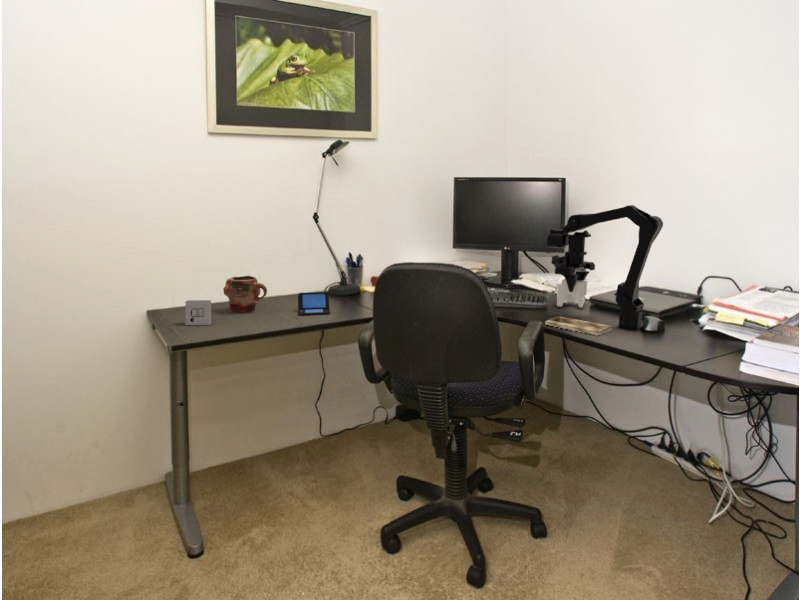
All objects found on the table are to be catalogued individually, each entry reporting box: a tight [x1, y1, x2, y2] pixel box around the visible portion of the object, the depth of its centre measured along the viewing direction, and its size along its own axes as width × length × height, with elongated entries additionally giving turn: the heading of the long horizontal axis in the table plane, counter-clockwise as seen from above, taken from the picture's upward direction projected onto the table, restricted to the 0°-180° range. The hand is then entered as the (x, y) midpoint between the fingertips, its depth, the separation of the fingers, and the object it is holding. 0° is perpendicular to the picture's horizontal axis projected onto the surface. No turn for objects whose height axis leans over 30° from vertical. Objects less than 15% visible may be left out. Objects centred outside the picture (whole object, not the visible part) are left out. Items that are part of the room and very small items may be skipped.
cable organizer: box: [556, 275, 587, 309], centre depth 233 cm, size 15×11×12 cm
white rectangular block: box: [561, 279, 588, 296], centre depth 208 cm, size 8×4×5 cm, turn 43°
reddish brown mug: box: [222, 275, 268, 314], centre depth 228 cm, size 20×12×14 cm, turn 77°
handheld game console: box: [297, 291, 331, 317], centre depth 226 cm, size 12×11×7 cm
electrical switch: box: [184, 299, 213, 326], centre depth 209 cm, size 9×5×9 cm, turn 90°
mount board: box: [544, 316, 613, 337], centre depth 198 cm, size 20×10×2 cm, turn 43°
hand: (574, 291), depth 208 cm, fingers closed on white rectangular block, 4 cm apart
